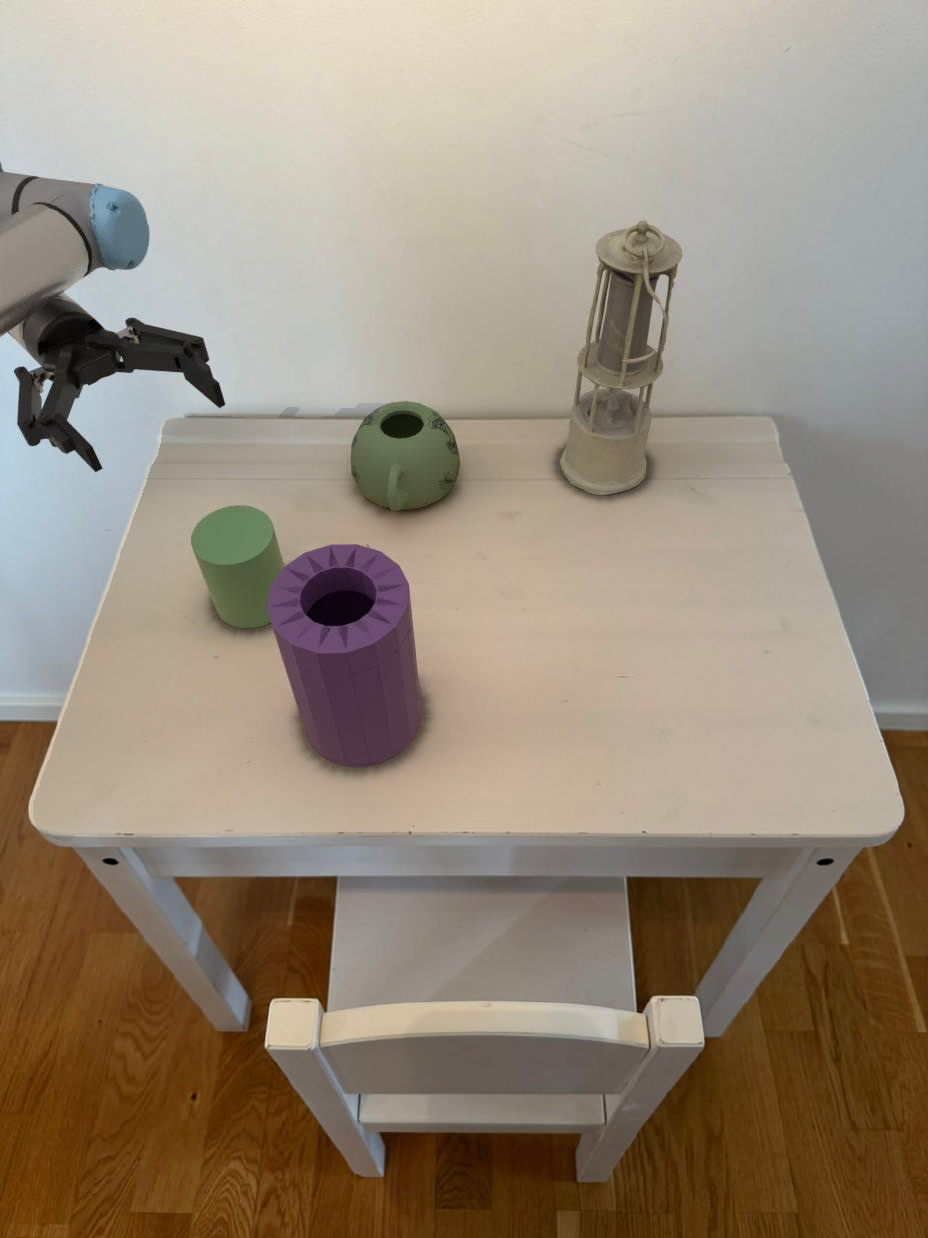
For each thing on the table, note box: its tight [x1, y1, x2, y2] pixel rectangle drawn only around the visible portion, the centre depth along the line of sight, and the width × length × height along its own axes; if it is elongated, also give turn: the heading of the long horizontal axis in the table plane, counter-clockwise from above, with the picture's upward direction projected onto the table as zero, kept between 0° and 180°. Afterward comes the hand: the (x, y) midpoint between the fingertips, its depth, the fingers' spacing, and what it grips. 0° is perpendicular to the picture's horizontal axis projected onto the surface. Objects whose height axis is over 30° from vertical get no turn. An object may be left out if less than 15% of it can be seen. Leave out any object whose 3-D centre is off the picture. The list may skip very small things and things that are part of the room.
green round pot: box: [350, 400, 461, 512], centre depth 98 cm, size 16×13×9 cm
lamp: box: [559, 220, 683, 496], centre depth 91 cm, size 10×13×30 cm
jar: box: [266, 543, 422, 768], centre depth 75 cm, size 11×11×18 cm
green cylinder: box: [190, 504, 285, 629], centre depth 88 cm, size 8×8×10 cm
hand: (158, 426), depth 82 cm, fingers open, 13 cm apart
